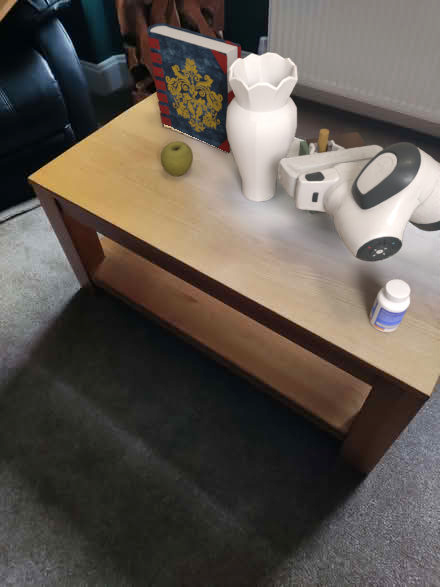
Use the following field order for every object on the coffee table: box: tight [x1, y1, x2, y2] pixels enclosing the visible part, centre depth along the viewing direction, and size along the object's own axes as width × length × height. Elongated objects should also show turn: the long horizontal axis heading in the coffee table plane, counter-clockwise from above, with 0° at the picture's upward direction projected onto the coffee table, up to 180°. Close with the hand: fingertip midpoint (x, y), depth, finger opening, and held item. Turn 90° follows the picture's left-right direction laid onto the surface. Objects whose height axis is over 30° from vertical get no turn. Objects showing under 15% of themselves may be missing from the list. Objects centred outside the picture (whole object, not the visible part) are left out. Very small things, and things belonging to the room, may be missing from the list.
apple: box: [160, 141, 194, 177], centre depth 106 cm, size 8×8×7 cm
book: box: [146, 22, 242, 154], centre depth 109 cm, size 25×7×25 cm, turn 53°
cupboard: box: [305, 131, 367, 213], centre depth 97 cm, size 12×12×11 cm
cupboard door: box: [298, 128, 330, 214], centre depth 93 cm, size 2×12×20 cm, turn 10°
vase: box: [226, 51, 299, 203], centre depth 92 cm, size 15×15×29 cm
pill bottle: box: [369, 278, 411, 333], centre depth 75 cm, size 5×5×10 cm
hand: (320, 144), depth 85 cm, fingers closed on cupboard door, 2 cm apart
